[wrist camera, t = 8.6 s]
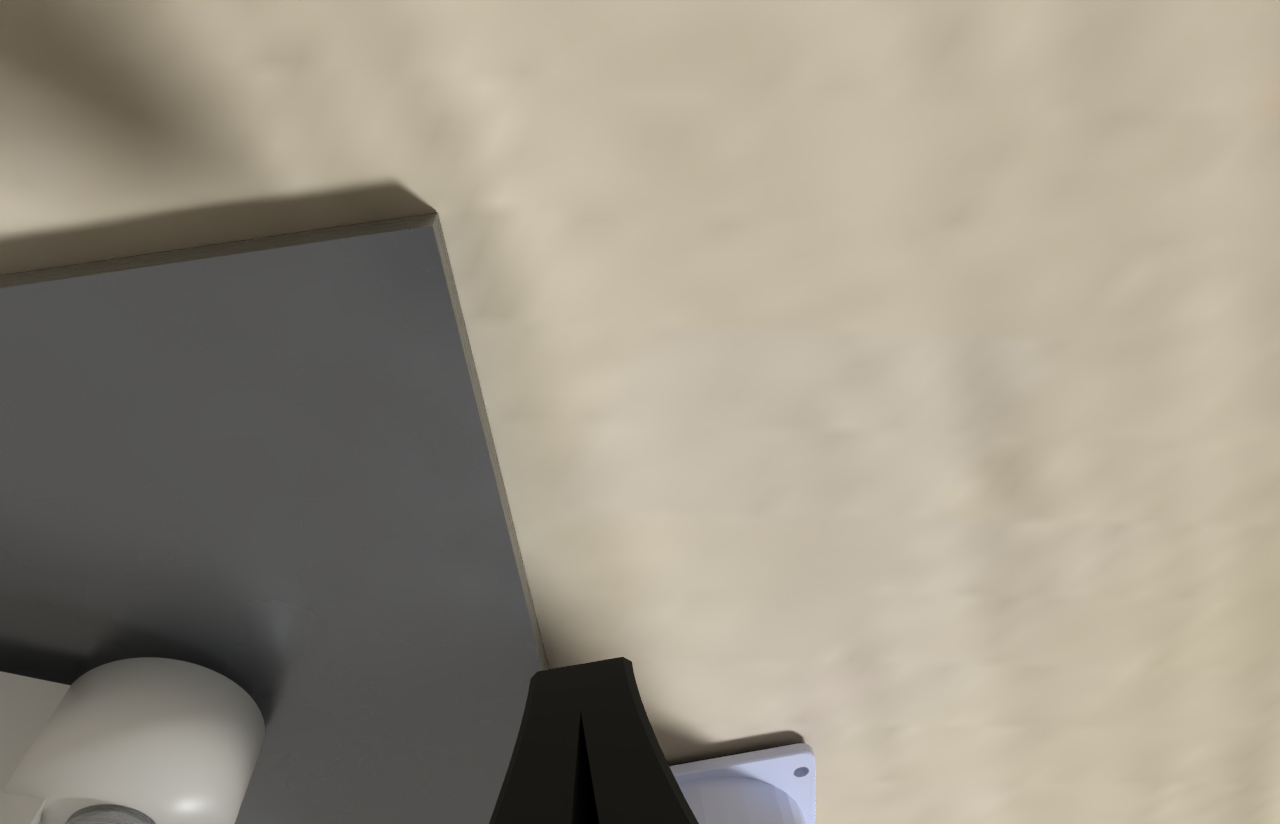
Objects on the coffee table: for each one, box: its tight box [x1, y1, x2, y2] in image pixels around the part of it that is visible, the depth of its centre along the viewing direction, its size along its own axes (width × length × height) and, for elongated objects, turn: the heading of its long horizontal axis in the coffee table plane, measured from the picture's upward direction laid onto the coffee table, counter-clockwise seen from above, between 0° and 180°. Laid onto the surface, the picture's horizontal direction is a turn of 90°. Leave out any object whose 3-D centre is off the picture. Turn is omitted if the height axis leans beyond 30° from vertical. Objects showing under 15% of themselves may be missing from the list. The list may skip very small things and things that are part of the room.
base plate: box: [0, 213, 549, 824], centre depth 20 cm, size 20×20×4 cm
